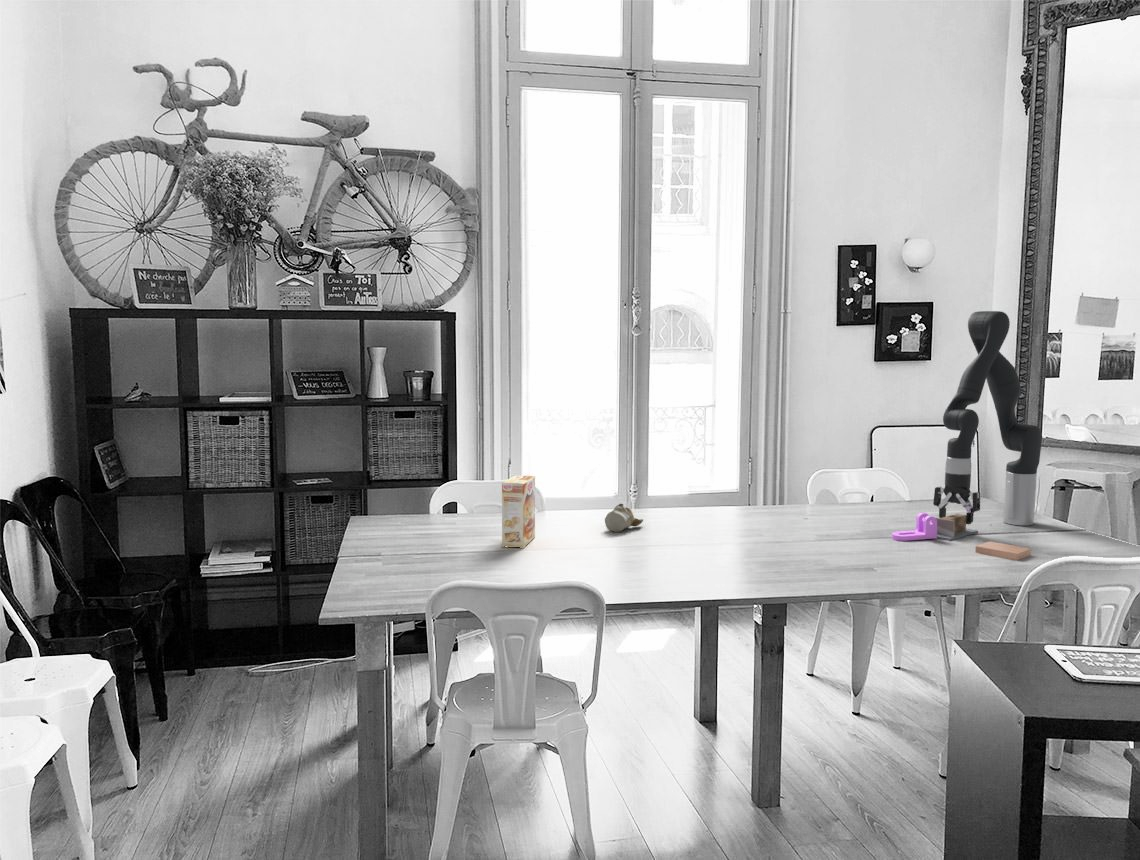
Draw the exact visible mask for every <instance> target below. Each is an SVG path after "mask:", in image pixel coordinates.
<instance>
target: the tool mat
mask: <svg viewBox="0 0 1140 860" xmlns="http://www.w3.org/2000/svg"><path fill="white" fill-rule="evenodd" d="M978 532H979V529H978V530H977V529H971V528H966V531H962V532H959V533H955V534H954V537H950V536H944V535H939V534H937V538H936V539H939V540H943V541H944V540H945V541H949V542H950V541H954V540H956V539H960V538H963V537H966V536H970V535H974V534H978Z"/></svg>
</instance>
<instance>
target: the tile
mask: <svg viewBox="0 0 1140 860" xmlns="http://www.w3.org/2000/svg"><path fill="white" fill-rule="evenodd" d="M974 549H975V551H974V552H975V553H977V554H980V555H981V554H982V555H987V556H991V557H998V558H1004V559H1009V560H1012V561H1019V560H1021V559H1024V558H1025V559H1026V558H1027V557H1029V556H1032V548H1029V547H1024V546H1018V545H1012V544H1006V543H1001V542H995V541H987V542H984V543H981V544H978V545H975V548H974Z"/></svg>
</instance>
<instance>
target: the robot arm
mask: <svg viewBox="0 0 1140 860" xmlns="http://www.w3.org/2000/svg"><path fill="white" fill-rule="evenodd" d="M1010 324H1011V323H1010V318H1009V316H1008V314H1007V313H1006V312H1004V311H1002V310H1001V311H1000V310H999V311H997V310H996V311H995V310H985V311H981V310H978V311H974V312H972V313H971V314H970V316H969V318H968V321H967V328H968V329H967V330H968V334H969V337H970V339H971V342H972V343H973V346H974V348H975V351H976V352H977V356H976V357H975V358H974V359H973V360H972V361H971V363H970V364H969V365H968V366H967V367H966V368H965V370H964V371H963V374H962V375H961V378H960V381H959V384H958V387H957V390H956V393H955V395H954V396H953V398H951V401H950V403H949V404H948V406H947V407H946V408H945V410H944V413H943V416H942V421H943V423H942V424H943V425H944V427H945V428H946V429H948V430H951V431H957V432H958V431H959V435H958V436H957V437H953V438H950V439H948V441H947V447H946V448H947V449H946V460H945V468H944V470H945V471H944V474H945V475H944V487H942V486H938V487H935V488H934V494H933V506H936V507H938V510H939V511H938V518H943V517H947V506H948V505H949V504H950V503H951V504H955V503H956V504H958V505H961V506H962V507H963V508H964V509H965V510H966V513H965V515H966V525H968V526H969V525H971V524H972V523H973V522H974V515H975V514H974V513H976V512H980V511H981V493H980V491H976V492H975V491H974V492H973V491H971V490H970V489H971V481H972V479H971V477H972V444H973V442H974V439H975V436H976V433H977V431H978V427H979V423H980V419H979V415H978V413H977V412H976V411H975V410H973V409H969V408H967V407H968V406H970V405H973V404H977V403H979V401H980V399H981V396H982V393H983V390H984V386H985V383H987V386H988V389H989V392H990V395H991V398H992V401H993V405H994V409H995V411H996V415H997V422H998V427H999V432H1000V436H1001V440H1002V444H1003V446H1004V447H1005V449H1007V450H1010V451H1014V452H1020V455H1019V458H1018V459H1017V460H1013V461H1009V462H1007V463H1006V466H1005V467H1006V468H1005V486H1004V487H1005V488H1004V500H1003V501H1004V503H1003V504H1004V506H1003V520H1002V522H1003V523H1005V524H1008V525H1014V526H1023V527H1024V526H1033V525H1034V523H1035V509H1036V489H1037V474H1038V468H1039V464H1040V460H1041V451H1042V443H1043V442H1042V441H1043V435H1042V431H1041V429H1040V427H1039V426H1037V425H1033V424H1025V423H1019V422H1018V420H1017V416H1016V412H1015V408H1016V406H1017V403H1018V401H1019V399H1020V396H1021V393H1022V386H1021V382H1020V379H1019V374H1018V372H1017V370H1016V368H1015V366H1014V365H1013V364H1012V363H1011V361H1009V360H1008V359H1007V358H1006V356H1005V355H1003V354H1002V352H1000V350H1001V348H1002V346H1003V344H1004V342H1005V341H1006V338H1007V336H1008V333H1009V331H1010V326H1011V325H1010ZM942 494H944V495H945V497H944V498H943V499H942V496H943V495H942ZM970 497H971V498H970ZM969 498H970V499H971V500H972V502H971V501H970V499H969Z"/></svg>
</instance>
